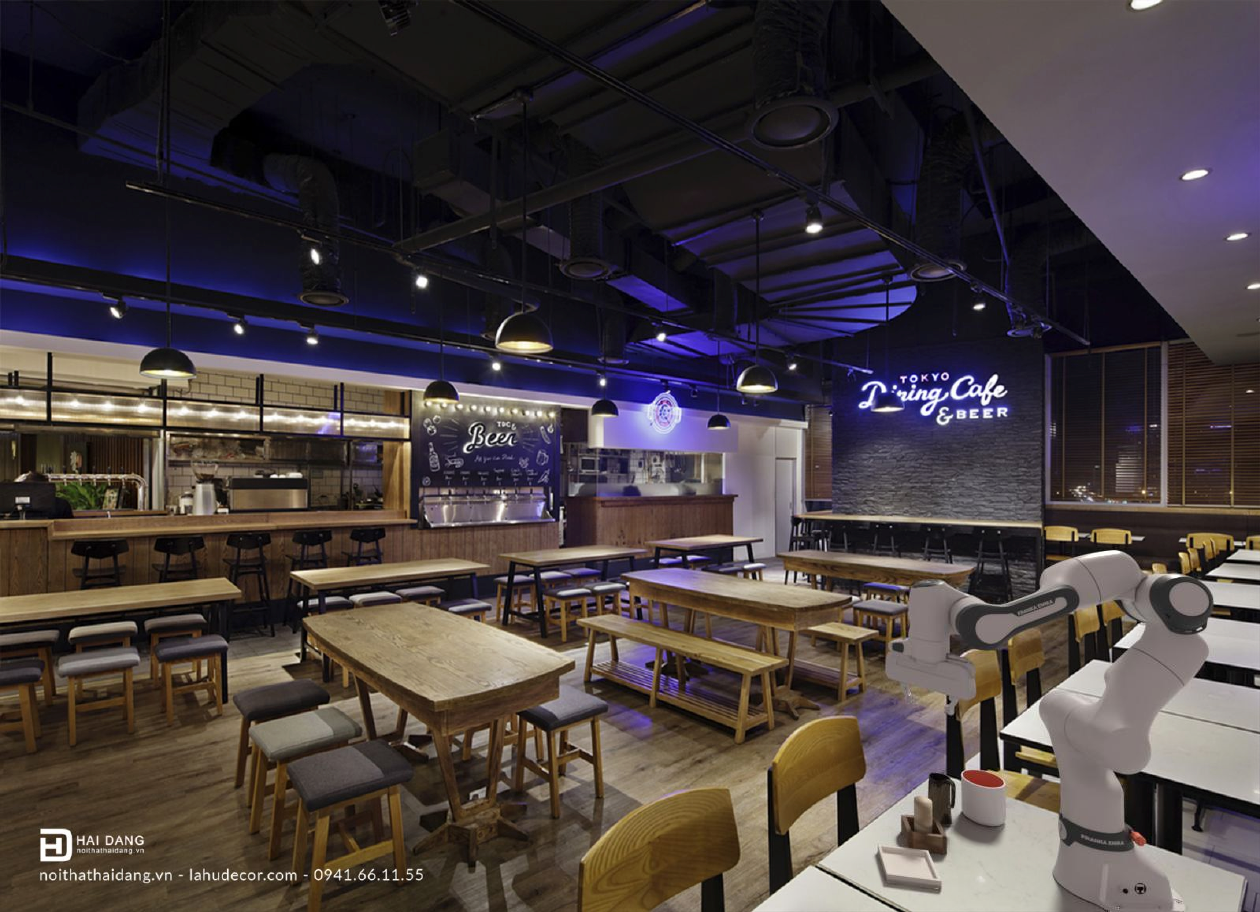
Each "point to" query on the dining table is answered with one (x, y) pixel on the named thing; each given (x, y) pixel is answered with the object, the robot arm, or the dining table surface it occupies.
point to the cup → (983, 797)
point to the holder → (924, 836)
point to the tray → (909, 867)
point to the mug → (941, 797)
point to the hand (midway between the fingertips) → (928, 707)
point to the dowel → (922, 814)
